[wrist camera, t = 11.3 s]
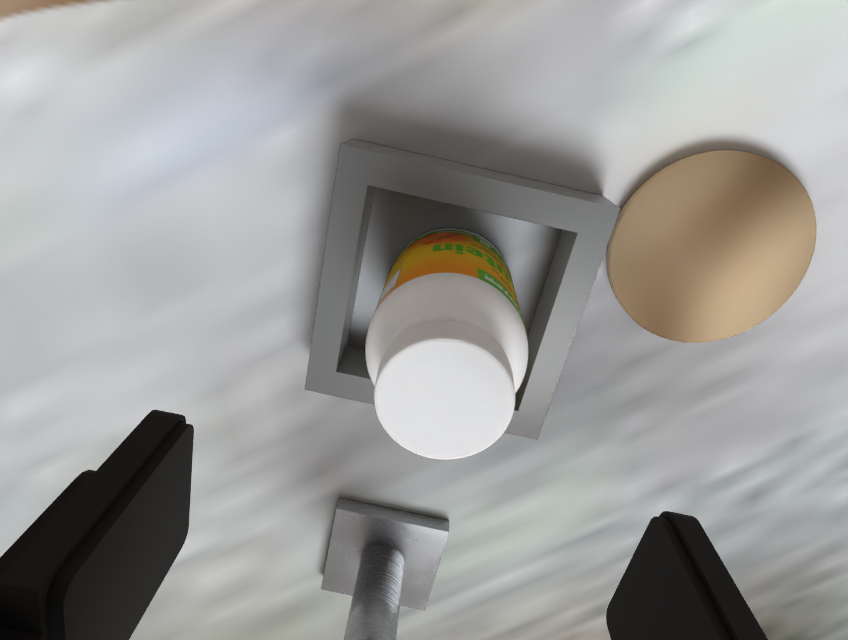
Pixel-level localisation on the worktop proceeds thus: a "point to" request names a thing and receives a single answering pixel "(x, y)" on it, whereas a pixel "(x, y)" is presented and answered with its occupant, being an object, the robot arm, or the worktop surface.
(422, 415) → the supplement bottle
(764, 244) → the coaster
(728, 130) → the worktop surface
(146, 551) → the robot arm
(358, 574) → the post
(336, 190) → the socket
